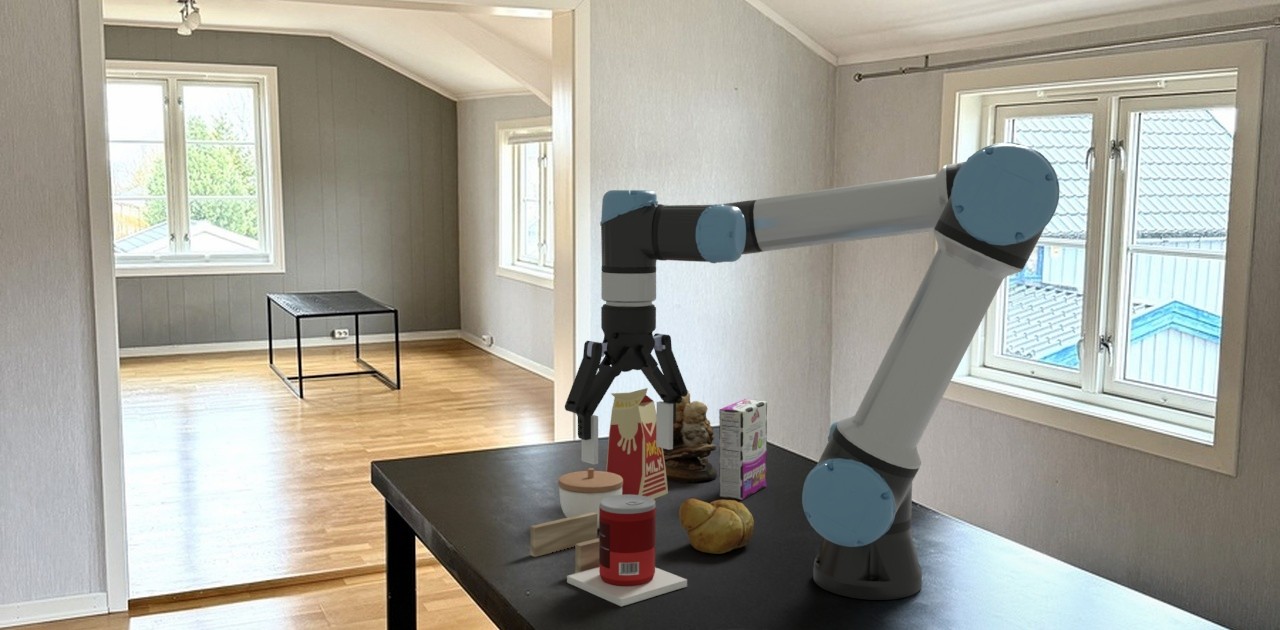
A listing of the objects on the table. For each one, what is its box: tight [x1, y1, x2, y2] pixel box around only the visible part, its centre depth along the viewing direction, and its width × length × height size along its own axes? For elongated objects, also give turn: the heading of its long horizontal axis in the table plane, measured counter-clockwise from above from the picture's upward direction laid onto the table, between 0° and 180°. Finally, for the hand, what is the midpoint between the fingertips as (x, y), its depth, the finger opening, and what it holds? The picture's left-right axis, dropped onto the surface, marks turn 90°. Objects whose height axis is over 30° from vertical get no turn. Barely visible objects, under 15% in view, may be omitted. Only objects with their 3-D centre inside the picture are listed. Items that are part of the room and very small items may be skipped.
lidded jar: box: [557, 467, 623, 530], centre depth 188 cm, size 11×11×9 cm
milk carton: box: [605, 387, 669, 500], centre depth 205 cm, size 9×9×20 cm
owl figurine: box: [663, 389, 718, 484], centre depth 222 cm, size 18×12×17 cm, turn 33°
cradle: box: [529, 512, 599, 574], centre depth 171 cm, size 12×12×4 cm
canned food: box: [598, 494, 657, 586], centre depth 159 cm, size 8×8×11 cm
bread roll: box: [678, 497, 755, 555], centre depth 177 cm, size 13×10×8 cm
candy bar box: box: [718, 398, 768, 501], centre depth 208 cm, size 11×5×16 cm, turn 150°
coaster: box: [566, 566, 688, 607], centre depth 160 cm, size 12×12×1 cm
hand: (628, 455), depth 158 cm, fingers open, 13 cm apart
